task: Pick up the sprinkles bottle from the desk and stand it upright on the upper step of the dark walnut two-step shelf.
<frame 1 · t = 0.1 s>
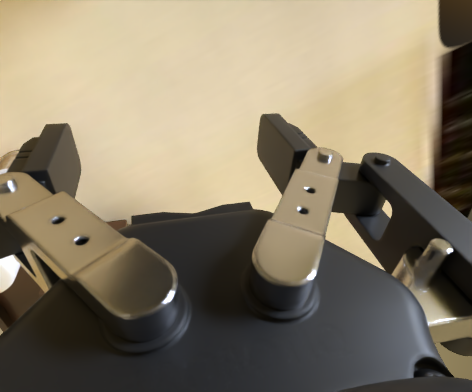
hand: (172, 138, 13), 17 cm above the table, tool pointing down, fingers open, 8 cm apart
shelf: (73, 268, 39), on the table
sprinkles bottle: (27, 167, 30), on the table
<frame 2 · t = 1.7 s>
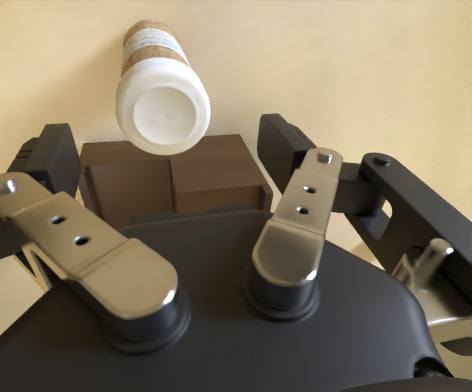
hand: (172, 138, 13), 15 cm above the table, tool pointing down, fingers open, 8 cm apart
shelf: (170, 194, 34), on the table
sprinkles bottle: (152, 49, 25), on the table
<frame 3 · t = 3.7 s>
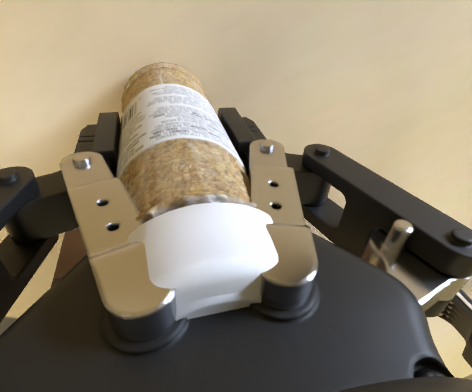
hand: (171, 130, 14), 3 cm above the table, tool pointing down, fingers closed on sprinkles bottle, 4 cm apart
shelf: (186, 278, 25), on the table
black boxy piece: (437, 297, 42), on the table
sprinkles bottle: (165, 102, 17), on the table, touching gripper
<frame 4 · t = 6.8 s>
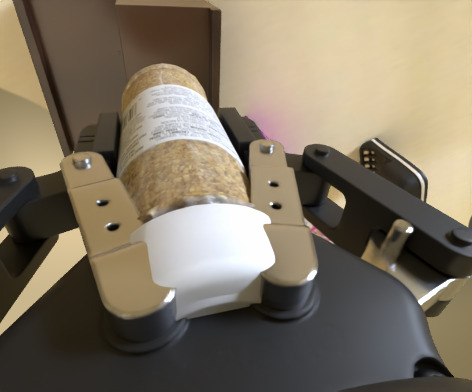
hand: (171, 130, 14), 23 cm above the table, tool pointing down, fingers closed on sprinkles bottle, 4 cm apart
shelf: (130, 70, 33), on the table
black boxy piece: (365, 156, 49), on the table
sprinkles bottle: (165, 103, 17), point 19 cm above the table, touching gripper
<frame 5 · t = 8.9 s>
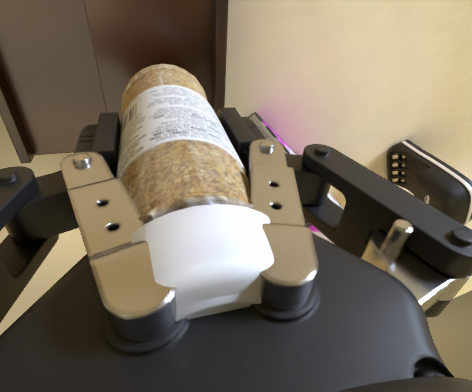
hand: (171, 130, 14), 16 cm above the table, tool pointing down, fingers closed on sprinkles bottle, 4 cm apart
shelf: (109, 52, 25), on the table
candy bar box: (267, 153, 36), on the table
black boxy piece: (392, 161, 42), on the table
sprinkles bottle: (165, 103, 17), point 13 cm above the table, touching gripper
when the fingers open (12 cm above the table, at t = 10.4 s): sprinkles bottle stays where it is, resting on shelf.
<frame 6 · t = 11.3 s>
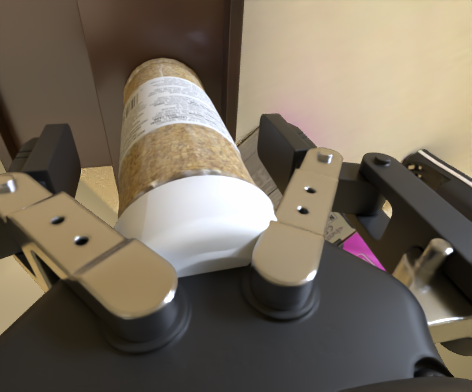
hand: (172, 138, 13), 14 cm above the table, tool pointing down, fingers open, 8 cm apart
shelf: (108, 59, 23), on the table
candy bar box: (276, 164, 34), on the table
black boxy piece: (407, 171, 40), on the table
sprinkles bottle: (165, 96, 17), point 9 cm above the table, touching shelf
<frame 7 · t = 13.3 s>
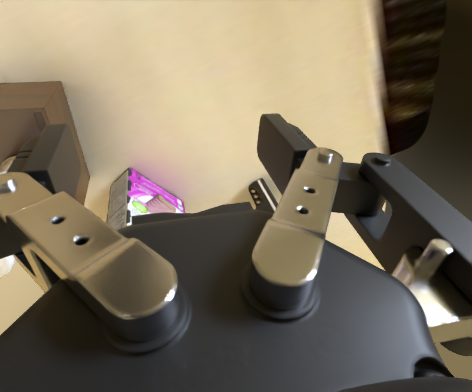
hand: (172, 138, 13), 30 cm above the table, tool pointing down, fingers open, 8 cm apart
shelf: (14, 138, 39), on the table
candy bar box: (148, 192, 49), on the table
black boxy piece: (257, 193, 56), on the table
sprinkles bottle: (26, 170, 33), point 9 cm above the table, touching shelf
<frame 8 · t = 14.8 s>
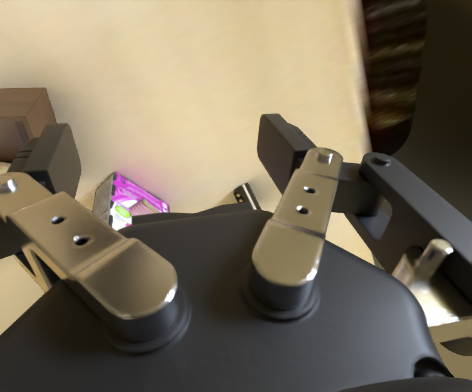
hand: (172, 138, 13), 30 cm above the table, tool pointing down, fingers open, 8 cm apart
candy bar box: (134, 195, 50), on the table
black boxy piece: (243, 197, 56), on the table
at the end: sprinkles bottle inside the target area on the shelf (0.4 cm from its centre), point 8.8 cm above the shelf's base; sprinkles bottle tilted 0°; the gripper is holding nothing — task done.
